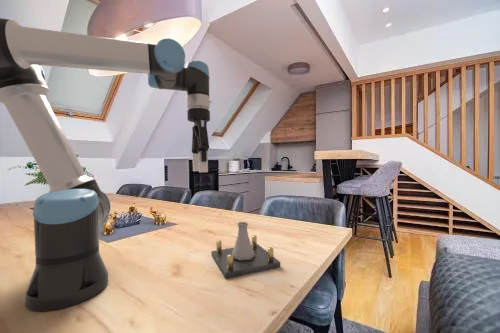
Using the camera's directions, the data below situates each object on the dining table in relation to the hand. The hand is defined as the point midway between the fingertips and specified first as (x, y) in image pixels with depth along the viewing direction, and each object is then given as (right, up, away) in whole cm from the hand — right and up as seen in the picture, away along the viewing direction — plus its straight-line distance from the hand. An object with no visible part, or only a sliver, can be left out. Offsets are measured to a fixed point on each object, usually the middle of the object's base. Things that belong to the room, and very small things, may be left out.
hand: (199, 171), depth 79 cm
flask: (+15, -25, -10) cm, 31 cm away
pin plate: (+15, -27, -10) cm, 32 cm away
